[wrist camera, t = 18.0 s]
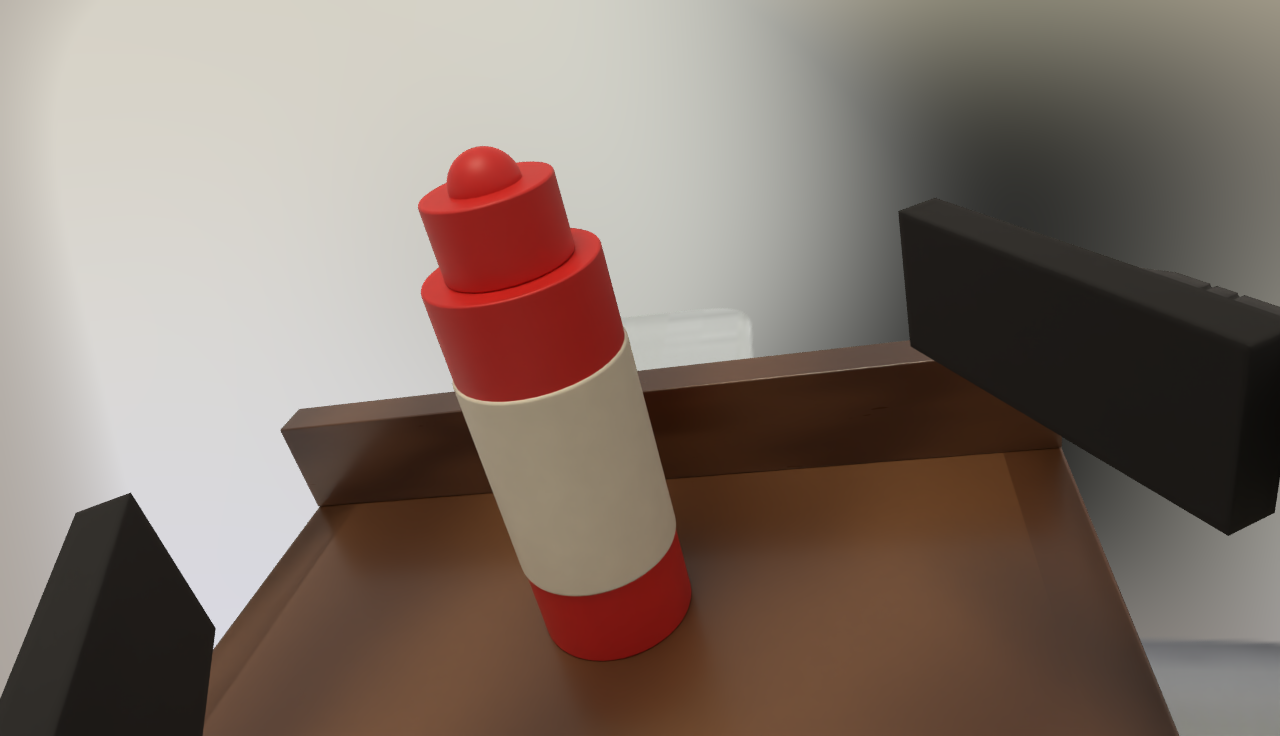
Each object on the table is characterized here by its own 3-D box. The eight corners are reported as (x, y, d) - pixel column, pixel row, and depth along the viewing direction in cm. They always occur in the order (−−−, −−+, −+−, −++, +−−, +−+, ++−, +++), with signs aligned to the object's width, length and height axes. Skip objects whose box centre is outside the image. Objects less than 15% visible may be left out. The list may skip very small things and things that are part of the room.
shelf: (256, 1035, 23) (1, 735, 18) (426, 672, 33) (299, 408, 28) (1190, 1128, 18) (1253, 731, 12) (1052, 657, 28) (1051, 323, 22)
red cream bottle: (526, 665, 20) (337, 199, 15) (564, 554, 23) (421, 137, 18) (683, 661, 19) (542, 162, 14) (701, 547, 22) (592, 104, 17)
